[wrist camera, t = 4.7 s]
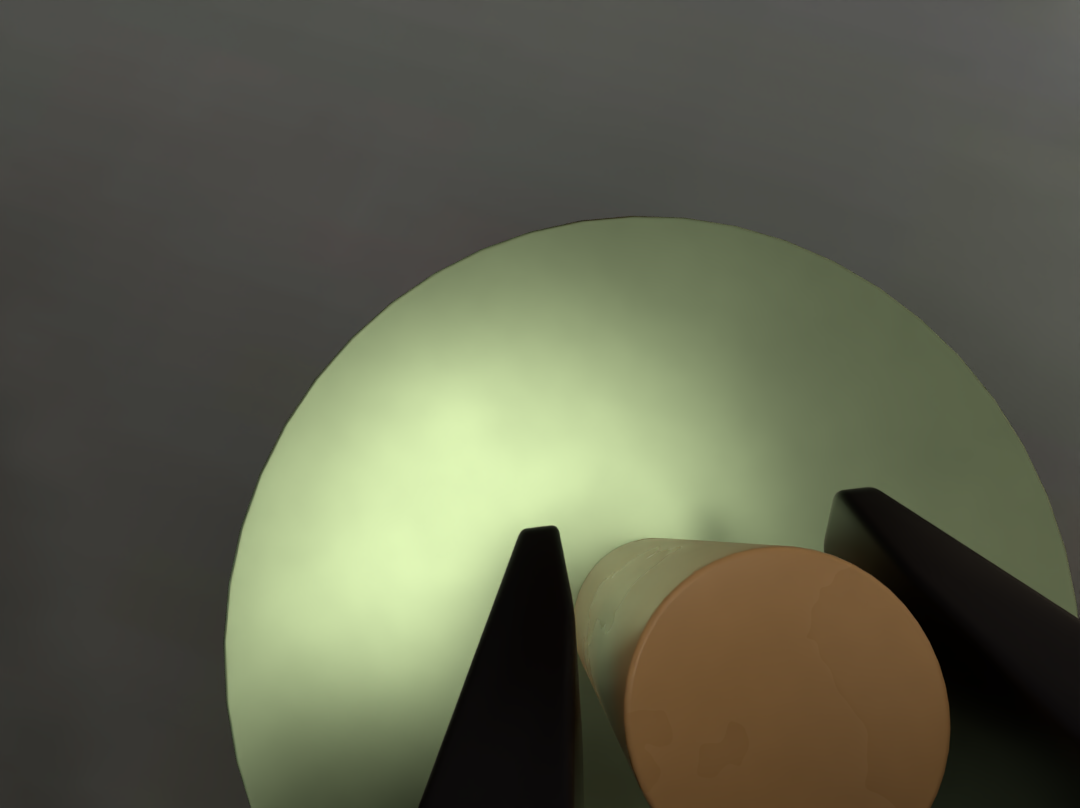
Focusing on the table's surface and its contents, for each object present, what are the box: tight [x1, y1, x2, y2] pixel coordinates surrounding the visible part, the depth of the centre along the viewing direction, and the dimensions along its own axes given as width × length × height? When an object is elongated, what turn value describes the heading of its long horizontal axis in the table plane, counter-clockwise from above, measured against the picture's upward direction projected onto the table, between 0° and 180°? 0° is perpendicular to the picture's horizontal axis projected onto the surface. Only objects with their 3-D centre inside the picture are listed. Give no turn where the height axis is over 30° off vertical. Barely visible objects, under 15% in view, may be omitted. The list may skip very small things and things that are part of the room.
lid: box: [223, 216, 1078, 808], centre depth 10 cm, size 13×13×7 cm
